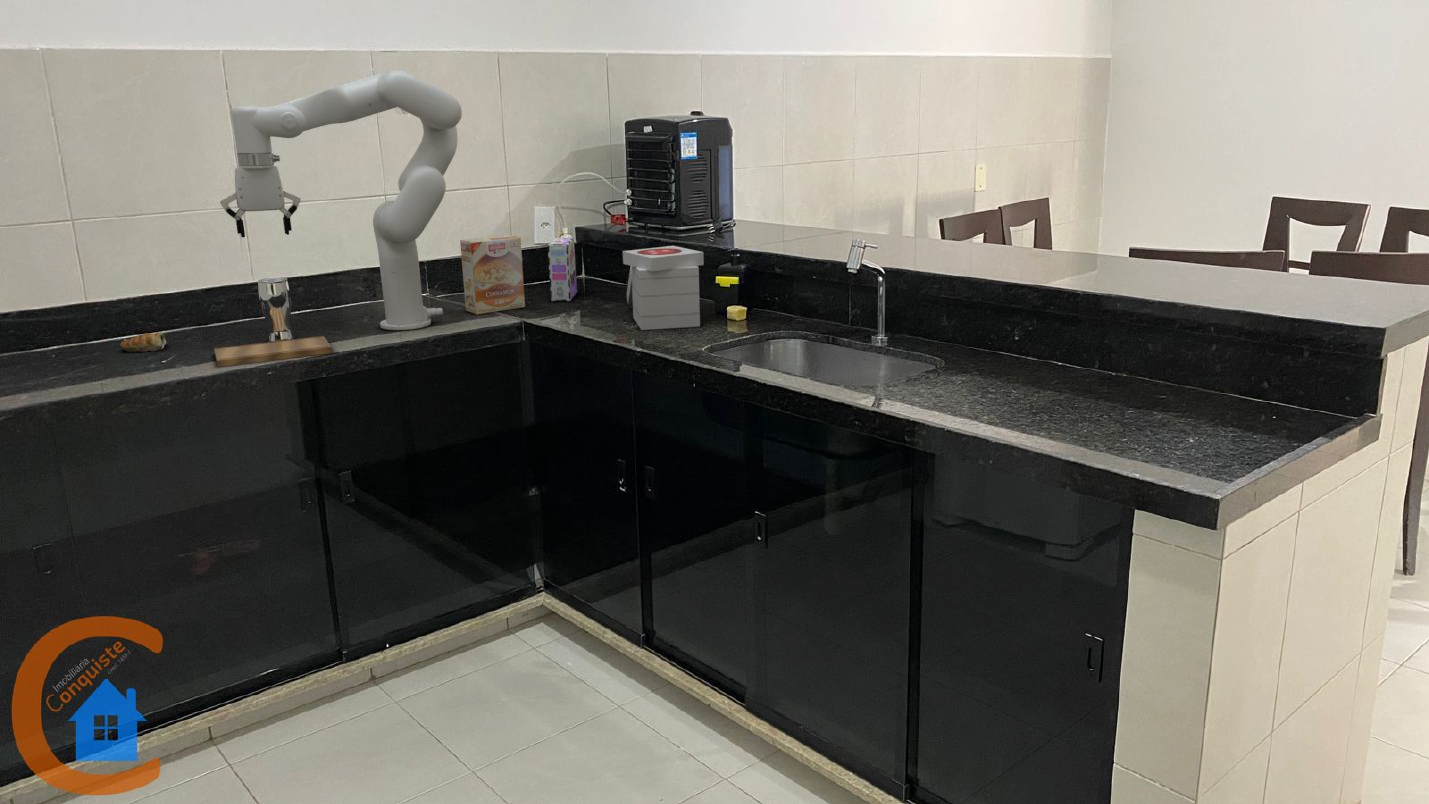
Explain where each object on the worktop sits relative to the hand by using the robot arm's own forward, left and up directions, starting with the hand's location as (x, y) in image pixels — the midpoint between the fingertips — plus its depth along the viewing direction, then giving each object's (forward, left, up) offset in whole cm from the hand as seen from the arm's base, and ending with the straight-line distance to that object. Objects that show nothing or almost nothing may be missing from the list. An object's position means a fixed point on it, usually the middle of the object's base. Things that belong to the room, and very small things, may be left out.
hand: (265, 235), depth 241 cm
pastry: (+29, -8, -26) cm, 40 cm away
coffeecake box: (-56, -9, -26) cm, 62 cm away
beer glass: (0, 0, -26) cm, 26 cm away
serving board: (+3, +13, -26) cm, 29 cm away
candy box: (-78, -15, -26) cm, 84 cm away
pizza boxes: (-90, +26, -26) cm, 97 cm away
